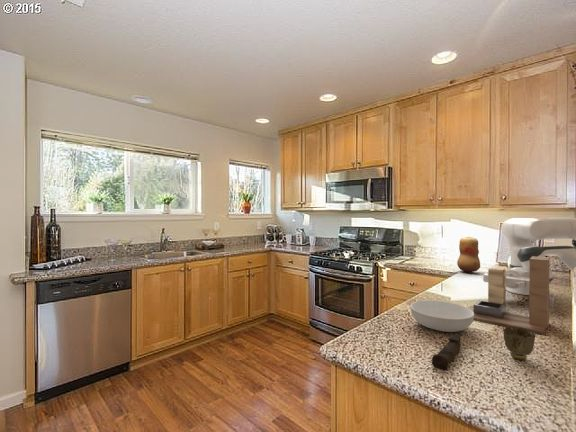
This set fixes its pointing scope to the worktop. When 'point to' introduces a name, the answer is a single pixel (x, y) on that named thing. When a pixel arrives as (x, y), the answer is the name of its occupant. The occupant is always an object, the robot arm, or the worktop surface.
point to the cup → (519, 342)
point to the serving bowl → (442, 315)
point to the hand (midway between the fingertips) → (504, 283)
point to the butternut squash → (468, 255)
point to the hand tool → (447, 353)
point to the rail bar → (497, 285)
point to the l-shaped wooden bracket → (537, 303)
